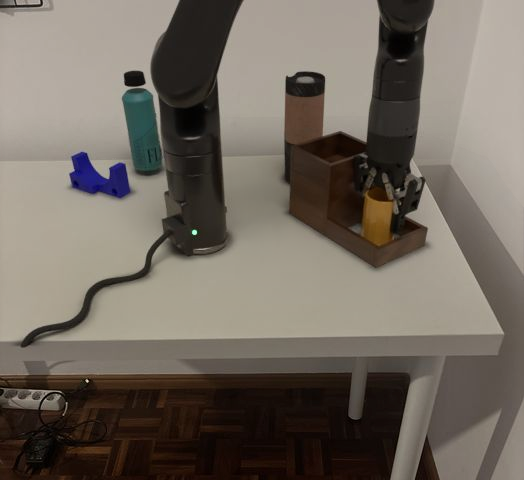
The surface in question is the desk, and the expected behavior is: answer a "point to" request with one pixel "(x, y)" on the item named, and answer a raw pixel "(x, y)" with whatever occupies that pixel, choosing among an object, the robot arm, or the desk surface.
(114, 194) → the blue curved bracket
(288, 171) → the travel mug
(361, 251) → the organizer
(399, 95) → the robot arm
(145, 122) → the beverage bottle
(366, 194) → the cup
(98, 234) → the desk surface
